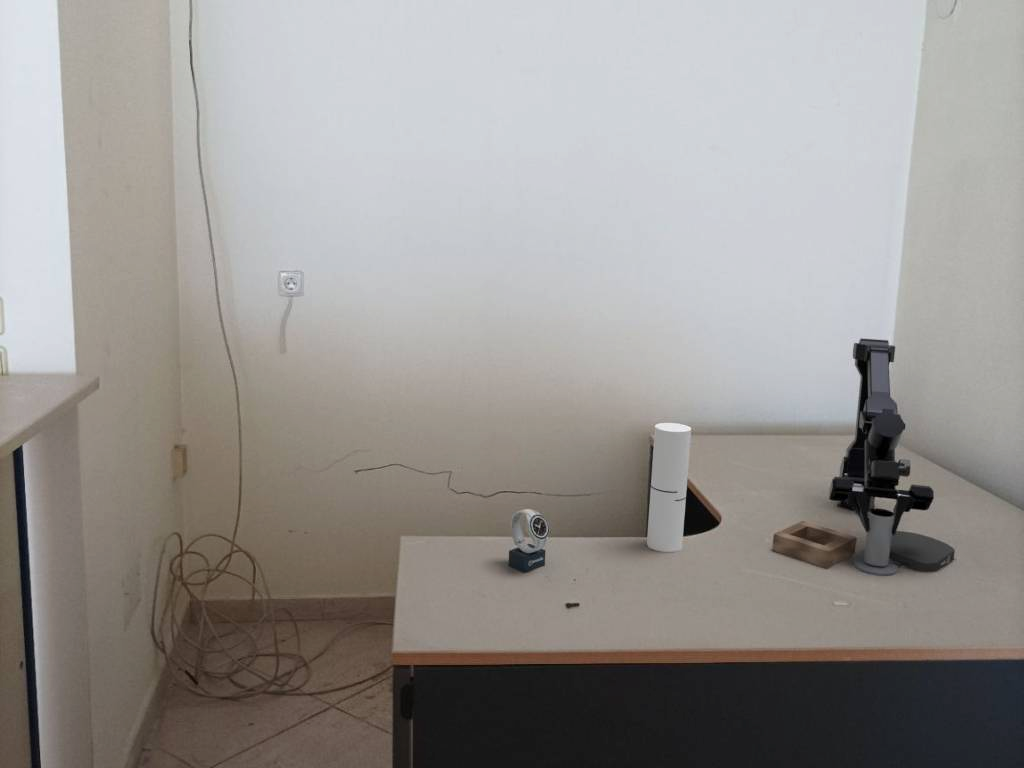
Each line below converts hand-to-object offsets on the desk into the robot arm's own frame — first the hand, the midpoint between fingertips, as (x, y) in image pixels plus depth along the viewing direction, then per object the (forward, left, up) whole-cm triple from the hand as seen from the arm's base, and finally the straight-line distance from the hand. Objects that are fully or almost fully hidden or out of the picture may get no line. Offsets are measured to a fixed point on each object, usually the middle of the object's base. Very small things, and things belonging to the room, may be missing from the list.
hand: (880, 532), depth 179 cm
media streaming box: (+1, +13, -8) cm, 15 cm away
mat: (-1, +1, -8) cm, 8 cm away
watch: (-46, -51, -8) cm, 69 cm away
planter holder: (-13, -1, -8) cm, 15 cm away
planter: (-1, +1, -7) cm, 7 cm away
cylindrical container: (-35, -22, -8) cm, 42 cm away
